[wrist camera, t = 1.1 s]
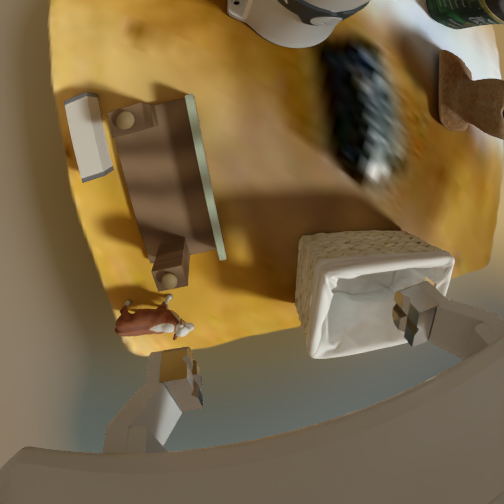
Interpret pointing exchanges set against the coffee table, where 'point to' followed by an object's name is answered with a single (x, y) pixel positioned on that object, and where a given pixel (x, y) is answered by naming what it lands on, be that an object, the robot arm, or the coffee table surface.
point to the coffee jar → (466, 12)
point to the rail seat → (168, 185)
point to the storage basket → (360, 287)
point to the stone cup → (469, 98)
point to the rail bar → (88, 136)
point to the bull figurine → (151, 321)
